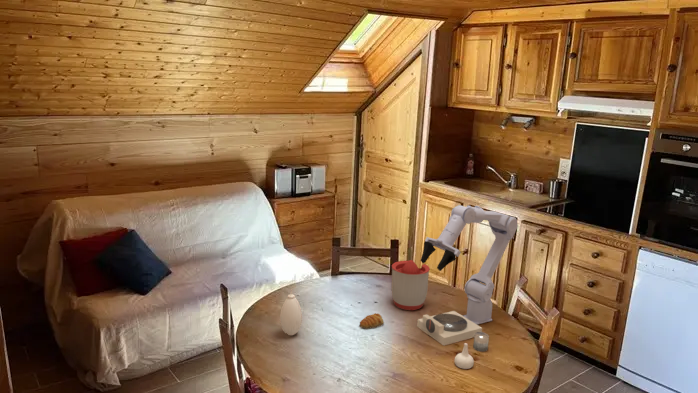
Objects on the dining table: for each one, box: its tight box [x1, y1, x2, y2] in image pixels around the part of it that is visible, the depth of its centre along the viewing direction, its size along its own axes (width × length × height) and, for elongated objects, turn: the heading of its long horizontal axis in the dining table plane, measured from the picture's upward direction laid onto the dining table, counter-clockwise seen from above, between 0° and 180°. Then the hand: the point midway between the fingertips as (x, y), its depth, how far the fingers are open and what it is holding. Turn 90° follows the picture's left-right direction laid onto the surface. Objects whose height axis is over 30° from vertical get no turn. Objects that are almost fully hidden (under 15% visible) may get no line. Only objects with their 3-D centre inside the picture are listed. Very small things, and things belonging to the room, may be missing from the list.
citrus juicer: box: [390, 259, 430, 311], centre depth 218 cm, size 16×17×20 cm
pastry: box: [359, 312, 385, 330], centre depth 200 cm, size 9×7×4 cm
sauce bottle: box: [279, 288, 303, 336], centre depth 189 cm, size 8×8×18 cm
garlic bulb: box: [454, 342, 475, 370], centre depth 174 cm, size 6×6×8 cm
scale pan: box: [433, 313, 467, 331], centre depth 197 cm, size 13×13×1 cm
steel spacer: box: [472, 331, 490, 353], centre depth 185 cm, size 5×5×5 cm
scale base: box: [416, 310, 483, 346], centre depth 197 cm, size 18×16×6 cm
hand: (430, 265), depth 185 cm, fingers open, 7 cm apart
